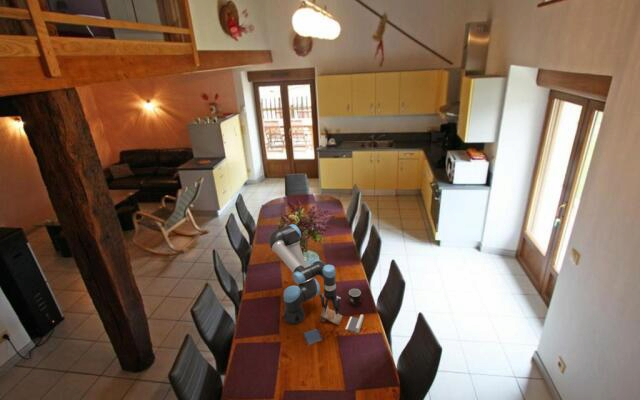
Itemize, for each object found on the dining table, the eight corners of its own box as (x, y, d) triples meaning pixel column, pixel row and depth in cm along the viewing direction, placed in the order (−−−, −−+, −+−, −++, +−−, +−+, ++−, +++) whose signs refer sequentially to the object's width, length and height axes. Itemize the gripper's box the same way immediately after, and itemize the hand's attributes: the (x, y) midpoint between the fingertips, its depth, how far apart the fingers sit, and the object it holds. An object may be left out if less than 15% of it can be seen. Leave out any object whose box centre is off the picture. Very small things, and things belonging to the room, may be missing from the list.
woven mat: (302, 334, 222) (302, 332, 222) (317, 329, 226) (317, 327, 225) (307, 346, 213) (307, 344, 213) (322, 341, 217) (322, 338, 216)
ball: (326, 318, 217) (326, 312, 215) (329, 313, 221) (328, 307, 219) (333, 320, 215) (333, 314, 213) (336, 315, 219) (336, 309, 217)
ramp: (320, 321, 232) (320, 315, 229) (325, 312, 239) (324, 306, 237) (338, 325, 227) (338, 319, 225) (342, 316, 234) (342, 310, 232)
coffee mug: (347, 301, 248) (346, 290, 244) (357, 298, 251) (357, 287, 247) (354, 311, 238) (353, 300, 234) (364, 308, 241) (364, 297, 237)
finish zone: (345, 329, 223) (345, 325, 222) (350, 316, 234) (350, 312, 233) (358, 333, 220) (358, 328, 218) (363, 319, 231) (363, 314, 229)
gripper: (314, 288, 209) (316, 317, 218) (341, 294, 202) (342, 323, 212) (318, 281, 215) (320, 309, 225) (345, 287, 209) (346, 315, 218)
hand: (331, 316), depth 218 cm, fingers closed on ball, 5 cm apart
